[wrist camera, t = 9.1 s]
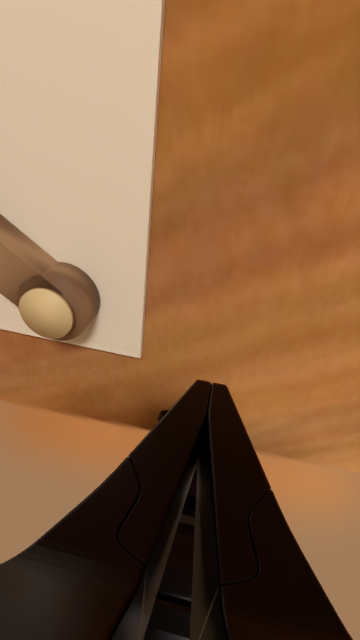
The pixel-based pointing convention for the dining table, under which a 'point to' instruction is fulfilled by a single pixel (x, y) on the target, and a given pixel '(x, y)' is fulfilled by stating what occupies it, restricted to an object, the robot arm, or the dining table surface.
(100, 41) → the pivot plate
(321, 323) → the dining table surface
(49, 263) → the link
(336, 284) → the dining table surface
